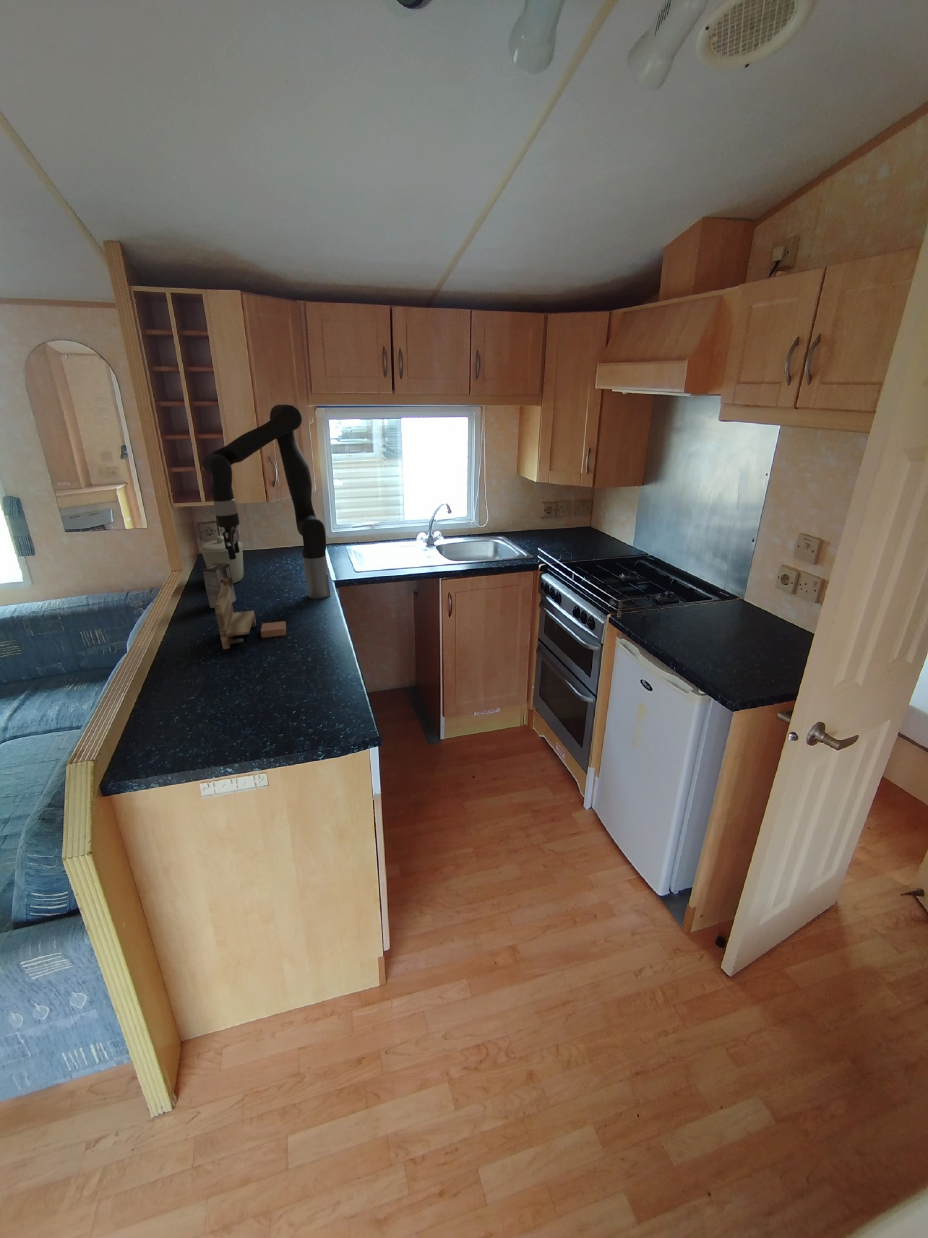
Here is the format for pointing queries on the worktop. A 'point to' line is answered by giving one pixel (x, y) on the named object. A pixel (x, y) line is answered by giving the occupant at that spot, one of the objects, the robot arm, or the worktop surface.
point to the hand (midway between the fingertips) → (234, 555)
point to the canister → (223, 557)
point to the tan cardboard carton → (273, 629)
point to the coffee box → (218, 581)
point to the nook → (231, 619)
